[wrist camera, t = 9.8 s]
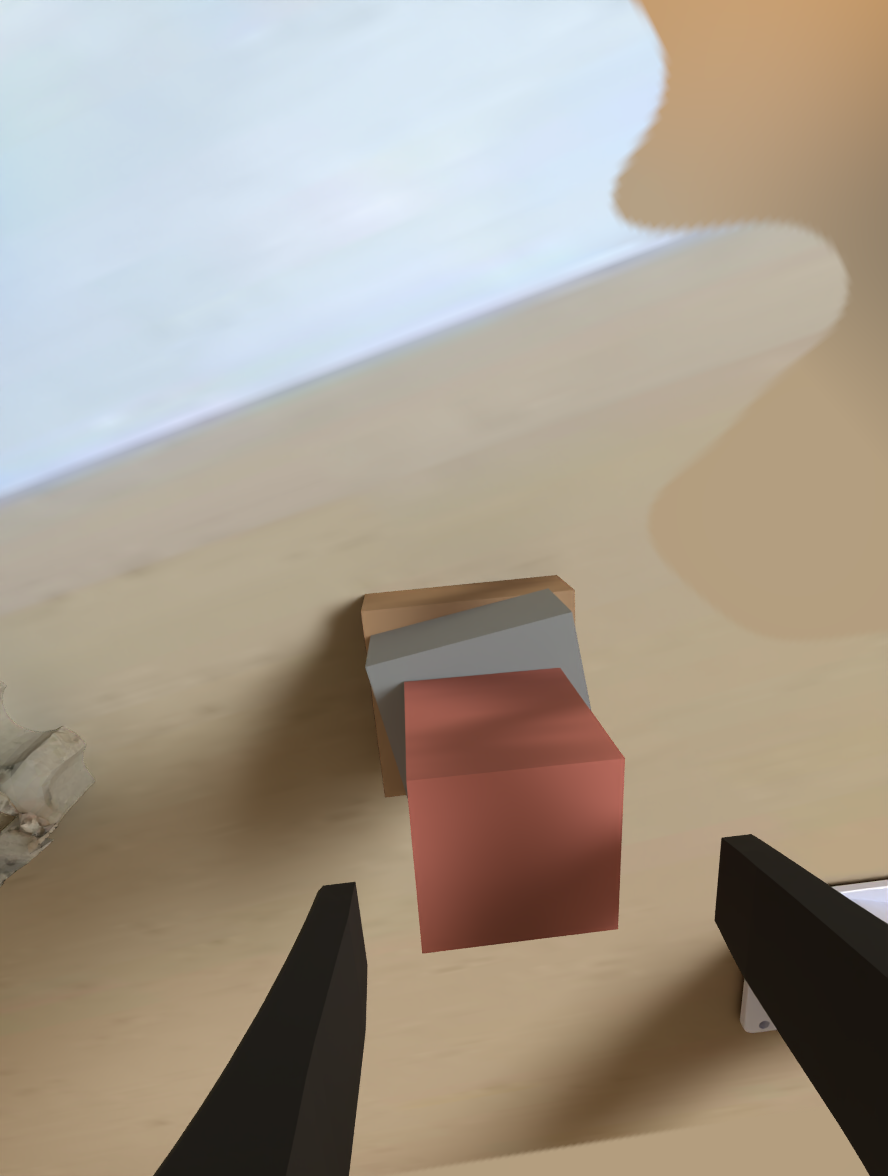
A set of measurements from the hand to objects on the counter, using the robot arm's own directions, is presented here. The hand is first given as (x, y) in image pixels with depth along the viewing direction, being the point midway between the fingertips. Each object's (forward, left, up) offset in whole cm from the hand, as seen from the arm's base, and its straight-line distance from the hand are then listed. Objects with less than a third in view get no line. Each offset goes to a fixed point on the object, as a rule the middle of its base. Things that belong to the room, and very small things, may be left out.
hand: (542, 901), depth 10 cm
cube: (0, 0, -6) cm, 6 cm away
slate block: (0, 0, -8) cm, 8 cm away
